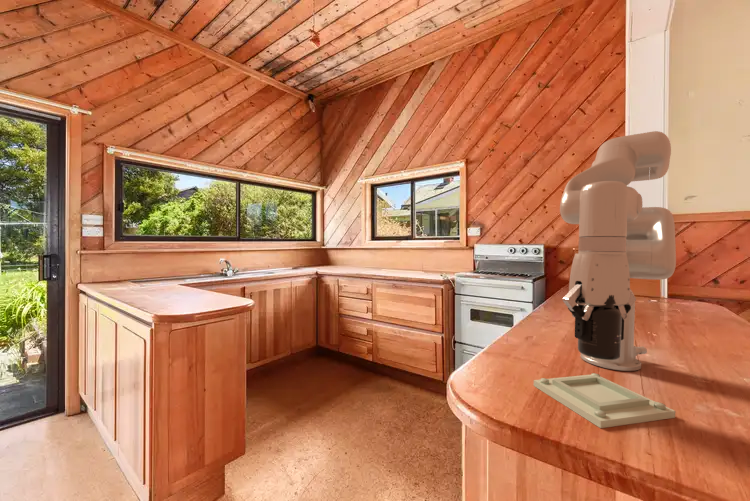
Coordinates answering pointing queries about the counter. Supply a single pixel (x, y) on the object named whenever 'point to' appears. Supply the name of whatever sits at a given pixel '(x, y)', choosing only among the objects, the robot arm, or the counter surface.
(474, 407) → the counter surface
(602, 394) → the seating plate
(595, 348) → the supplement bottle
